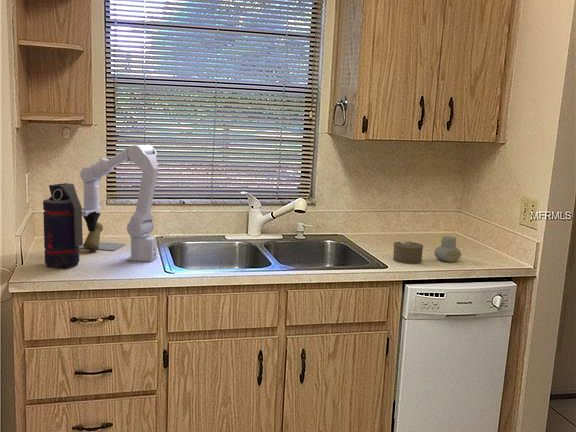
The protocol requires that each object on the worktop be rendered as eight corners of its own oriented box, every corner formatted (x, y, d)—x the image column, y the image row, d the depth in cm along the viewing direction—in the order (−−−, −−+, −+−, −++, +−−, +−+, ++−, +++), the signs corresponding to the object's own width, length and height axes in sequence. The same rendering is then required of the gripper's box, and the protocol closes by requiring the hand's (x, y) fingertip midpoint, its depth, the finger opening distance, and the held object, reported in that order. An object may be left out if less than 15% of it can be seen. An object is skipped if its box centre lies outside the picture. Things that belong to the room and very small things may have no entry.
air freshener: (440, 263, 250) (443, 239, 249) (430, 258, 258) (432, 235, 256) (463, 262, 254) (466, 239, 252) (452, 257, 261) (455, 234, 260)
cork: (94, 243, 240) (101, 219, 246) (80, 243, 241) (87, 220, 247) (101, 250, 245) (107, 227, 251) (87, 251, 246) (93, 228, 252)
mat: (125, 244, 258) (125, 243, 258) (114, 251, 247) (114, 250, 247) (88, 242, 260) (88, 241, 260) (76, 248, 248) (76, 247, 248)
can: (401, 265, 245) (403, 248, 244) (387, 257, 256) (388, 241, 255) (427, 263, 249) (428, 247, 248) (412, 256, 260) (413, 241, 259)
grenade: (37, 266, 219) (35, 184, 214) (60, 259, 230) (58, 180, 225) (69, 271, 214) (67, 187, 209) (90, 264, 225) (89, 183, 220)
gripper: (89, 194, 248) (89, 227, 250) (73, 199, 234) (74, 234, 236) (105, 195, 247) (106, 228, 249) (91, 200, 233) (91, 235, 235)
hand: (91, 231), depth 243 cm, fingers closed
